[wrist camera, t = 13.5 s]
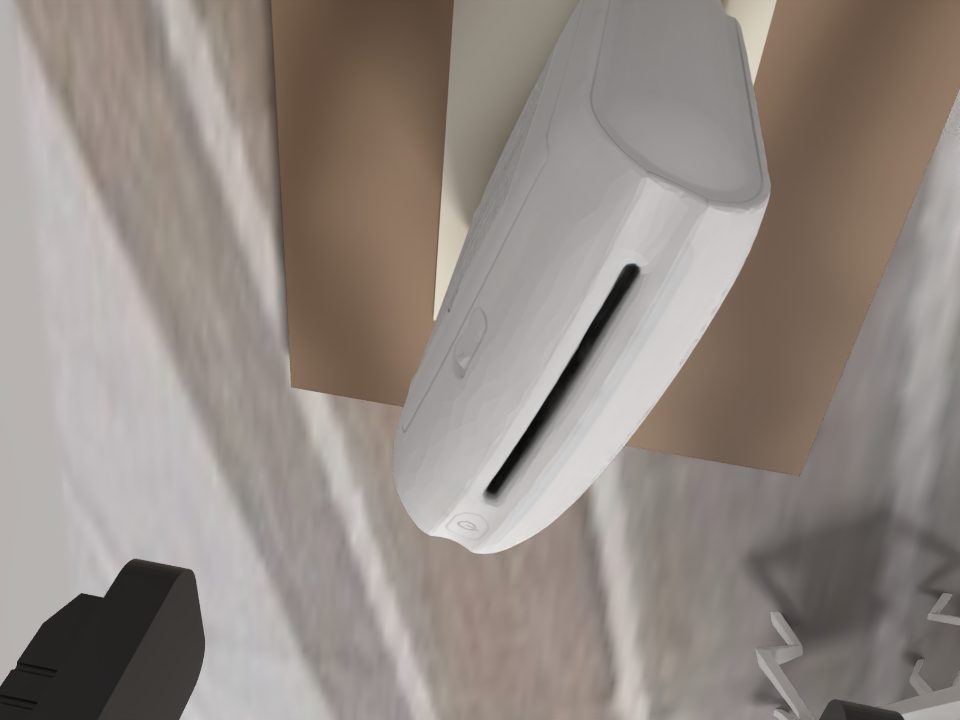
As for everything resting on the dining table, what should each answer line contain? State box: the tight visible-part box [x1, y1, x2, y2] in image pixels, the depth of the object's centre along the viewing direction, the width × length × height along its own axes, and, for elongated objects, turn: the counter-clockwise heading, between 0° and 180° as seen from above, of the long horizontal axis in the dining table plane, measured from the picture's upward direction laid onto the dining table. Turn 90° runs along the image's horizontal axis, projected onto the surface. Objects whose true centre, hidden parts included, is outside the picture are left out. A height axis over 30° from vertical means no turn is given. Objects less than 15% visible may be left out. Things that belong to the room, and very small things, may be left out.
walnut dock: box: [271, 0, 960, 476], centre depth 25 cm, size 18×22×4 cm
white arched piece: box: [756, 593, 960, 720], centre depth 36 cm, size 12×8×5 cm
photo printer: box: [393, 0, 771, 554], centre depth 20 cm, size 10×4×12 cm, turn 157°
